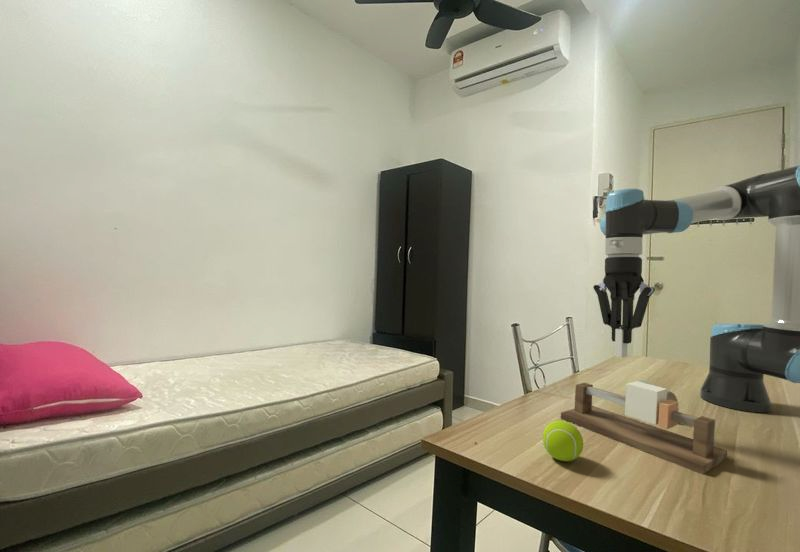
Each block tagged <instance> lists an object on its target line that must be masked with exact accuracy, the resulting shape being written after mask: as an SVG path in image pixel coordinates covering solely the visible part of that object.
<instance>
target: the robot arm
mask: <svg viewBox="0 0 800 552" xmlns="http://www.w3.org/2000/svg"><path fill="white" fill-rule="evenodd" d="M604 212H605V214H604V215H603V216H602V218H601V219H600V224H599V226H600V230H601V232H602V234H603V235H604V236H605V243H604V245H605V247H604V249H605V251H604V252H605V253H604V254H605V256H607V257H605V258H604V273H605V274H604V278H603V279H602V282H601V283H600V282H599V283H598V284H595V285H593V290H594V291H595V293H596V294H597V300H598V303H599V309H600V314H601V319H602V322H603V324H604V325H606V326H609V327H610V329H611V342H615V343H614V356H615V357H616V358H617V357H618V358H620V359H622V358H625V357H628V344H631V343H632V338H633V337H632V335H633V334H632V333H633V329H637V328H640V327H641V326H642V324H643V321H644V318H645V315H646V311H647V308H648V305H649V301H650V298H651V296H652V295H653V294H654V292H655V290H656V289H655V288H656V287H653V286H650V285H648V284H646V283H645V282H644V278H643V276H642V272H643V259H642V257H640V256H642V254H643V238H644V237H643V235H651V234H658V233H659V234H660V233H661V234H662V233H665V234H666V233H667V234H673V233H674V234H675V233H681V232H684V231H686V230H688V229H689V228H690V226H691V225H692V224H695V223H701V222H704V221H709V220H710V221H711V220H714V219H716V220H719V221H727V220H733V219H743V218H745V219H746V218H765V217H768V218H767V220H768V223H770V224H771V225H773V226H774V227H775V240H774V260H773V261H774V262H773V276H772V278H773V279H772V280H773V281H772V296H771V297H772V298H771V317H770V320H768V321H766V322H765V323H763V324H756V323H755V324H754V323H753V324H752V323H751V324H750V323H748V324H747V323H717V324H714V325H713V326H712V328H711V333H710V340H709V341H710V343H709V347H710V348H709V368H708V369H709V370H708V371H709V372H708V374H707V375H706V378H705V379H704V382H703V383H702V386H701V387H700V395H699V396H700V398H701V399H702V400H704V401H706V402H708V403H711V404H713V405H717V406H721V407H723V408H724V407H725V408H728V409H732V410H733V409H734V410H738V411H742V412H743V411H744V412H751V413H769V412H771V411H772V410H771V409H772V402H771V400H770V397H769V393H768V391H767V387H766V385H765V382H764V375H766V376H770V377H774V378H778V379H780V380H781V379H782V380H785V381H788V382H791V383H794V384H800V165H796V166H792V167H788V168H784V169H780V170H776V171H771V172H766V173H763V174H758V175H755V176H751V177H748V178H746V179H742V180H740V181H736V182H734V183H730V184H726V185H721V186H718V187H716V188H714V189H713V190H711V191H710V192H709V191H708V192H704V193H700V194H695V195H690V196H689V195H688V196H684V197H679V198H673V199H669V200H659V199H654V200H653V199H652V200H651V199H649V200H648V199H646V198H645V196H644V191H643V190H642V189H639V188H622V189H618V190H612V191H611V192H609V193H608V195H607V196H606V202H605V210H604ZM607 290H608V291H609V292H610V299H609V296H608V292H607ZM638 291H639V293H640V294H639V295H638V298H637V301H636V305H635V309H634V301H635V294H636V293H637V292H638ZM610 302H611V303H610Z"/></svg>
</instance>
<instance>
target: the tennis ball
mask: <svg viewBox="0 0 800 552" xmlns="http://www.w3.org/2000/svg"><path fill="white" fill-rule="evenodd" d="M542 442H543V446H544V448H545V450H546V452H547V453H548V454H549V455H550V456H551V457H552V458H554V459H555V460H558V461H561V462H572V461H574V460H576V459H578V458H579V457H580V455H581V453H582V452H583V449H584V439H583V436H582V434H581V432H580V430H579V429H578V428H577V426H575V424H573V423H570V422H568V421H565V420H562V419H561V420H554V421H551V422H550V423H549V424H547V425H546V427H545V428H544V430H543V433H542Z"/></svg>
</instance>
